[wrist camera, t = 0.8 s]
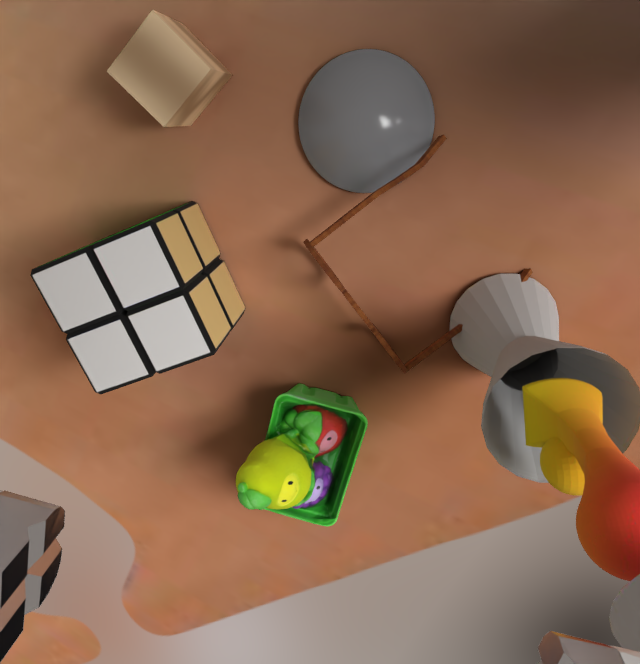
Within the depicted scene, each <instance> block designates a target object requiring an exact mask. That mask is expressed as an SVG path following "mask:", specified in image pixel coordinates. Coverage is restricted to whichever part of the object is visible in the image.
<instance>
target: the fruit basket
mask: <svg viewBox="0 0 640 664" xmlns="http://www.w3.org/2000/svg"><path fill="white" fill-rule="evenodd" d="M367 425H368V422H367V419H366V417H365V416H364V415H363V413H362V412H361V411H359V409H358V407H357V405H356V403H355V402H354V400H353V398H352V397H349V396H342V397H341V396H340V395H338V394H337V393H334V392H330V391H327V390H323V389H319V388H308V387H307V386H305V385H304V384H301V383H299V384H297V385H295V386H294V387H293V388H292V389H290V390H289V391H288V392H285V393H283V394H281V395H279V396H278V397H277V398H276V399H275V403H274V407H273V411H272V415H271V419H270V423H269V427H268V431H267V435H266V439H265V441H263V442H261V443H260V444H258V445H257V446H256V447H255V448H254V449H253V450H252V451H251V452H250V454H249V455H248V457H247V460H246V461H245V462H244V463H243V464H242V466H241V467H240V468H239V470H238V472H237V475H236V488H237V491H238V499H239V501H240V503H241V504H242V505H243V506H244V507H246V508H248V509H259V510H262V509H265V510H269V511H272V512H275V513H278V514H282V515H285V516H289V517H292V518H296V519H299V520H303V521H307V522H310V523H313V524H318V525H322V526H331V525H333V524H334V523H335V522H336V521H337V518H338V515H339V512H340V508H341V505H342V502H343V499H344V495H345V492H346V489H347V486H348V483H349V480H350V477H351V474H352V471H353V468H354V465H355V462H356V459H357V456H358V452H359V449H360V447H361V443H362V440H363V437H364V435H365V431H366V429H367Z"/></svg>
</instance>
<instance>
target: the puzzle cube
mask: <svg viewBox="0 0 640 664" xmlns="http://www.w3.org/2000/svg"><path fill="white" fill-rule="evenodd" d="M219 256H220V251H219V249H218V247H217V245H216V243H215V240H214V238H213V236H212V234H211V232H210V229H209V227H208V225H207V223H206V221H205V219H204V216H203V214H202V212H201V210H200V208H199V205H198V203H196V202H193V201H191V202H189V203H187V204H184V205H182V206H179V207H177V208H175V209H172V210H170V211H168V212H165V213H163V214H160V215H158V216H156V217H153V218H151V219H149V220H146V221H144V222H142V223H139V224H137V225H135V226H133V227H130V228H128V229H125V230H123V231H121V232H118V233H116V234H113V235H111V236H109V237H106V238H104V239H102V240H99V241H97V242H94V243H92V244H90V245H88V246H85V247H83V248H81V249H78V250H76V251H74V252H71V253H69V254H67V255H64V256H62V257H60V258H57V259H55V260H53V261H50V262H48V263H46V264H44V265H41V266H39V267H37V268H34V269H32V272H31V277H32V279H33V281H34V282H35V284H36V286H37V288H38V290H39V291H40V293H41V295H42V297H43V299H44V300H45V302H46V304H47V306H48V308H49V309H50V311H51V313H52V315H53V317H54V318H55V320H56V322H57V324H58V326H59V327H60V329H61V331H62V332H64V333H67V337H66V340H67V342H68V344H69V346H70V348H71V349H72V351H73V353H74V355H75V357H76V358H77V360H78V362H79V364H80V366H81V367H82V369H83V371H84V373H85V375H86V376H87V378H88V380H89V382H90V384H91V385H92V387H93V389H94V391H95V392H96V393H99V394H103V393H106V392H109V391H112V390H115V389H118V388H120V387H123V386H126V385H129V384H132V383H135V382H137V381H140V380H143V379H146V378H149V377H152V376H153V375H154V374H155V373H156V372H157V373H163V372H166V371H169V370H172V369H174V368H177V367H180V366H183V365H186V364H189V363H192V362H194V361H197V360H200V359H203V358H206V357H209V356H211V355H214V354H215V352H216V351H217V350H218V348H219V347H220V345H221V344H222V343H223V341H224V340H225V338H226V337H227V336H228V334H229V332H230V331H231V330H232V329H233V328H234V326H235V325H236V323H237V322H238V320H239V319H240V318H241V316H242V315H243V313H244V311H245V309H246V308H245V306H244V304H243V302H242V300H241V297H240V295H239V293H238V291H237V289H236V287H235V284H234V282H233V280H232V278H231V276H230V273H229V271H228V269H227V267H226V265H225V263H224V261H223V260H220V259H219Z"/></svg>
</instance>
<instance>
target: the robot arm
mask: <svg viewBox="0 0 640 664" xmlns="http://www.w3.org/2000/svg"><path fill="white" fill-rule="evenodd" d="M64 517H65V510H64V509H63V508H62V507H61V506H57V505H54V504H51V503H47V502H43V501H39V500H36V499H32V498H29V497H26V496H22V495H18V494H15V493H11V492H8V491H1V490H0V662H1V661H2V659H3V658H4V657H5V655H6V654H7V652H8V651H9V649H10V648H11V647H12V645H13V644H14V642H15V641H16V640H17V638H18V637H19V635H20V634H21V632H22V631H23V625H24V615H25V614H27V613H29V612H31V611H33V610H35V609H37V608H39V607H40V605H41V604H42V602H43V601H44V599H45V598H46V596H47V595H48V593H49V591H50V589H51V587H52V584H53V583H54V580H55V578H56V576H57V573H58V569H59V565H60V561H61V554H62V548H61V546H60V544H59V543H58V541H57V539H56V537H57V536H58V534H59V533H60V532H61V530H62V529H63V528H64V519H65V518H64ZM538 650H539V653H540V657H541V661H539V662H538V663H536V664H640V652H637V651H633V650H629V649H625V648H620V647H616V646H608V645H606V644H601V643H597V642H594V641H589V640H585V639H581V638H577V637H573V636H569V635H565V634H561V633H557V632H553V631H549V632H548V633H547V634H546V635H545V636H544V637H543V639H542V641H541V642H540V645H539V646H538Z"/></svg>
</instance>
